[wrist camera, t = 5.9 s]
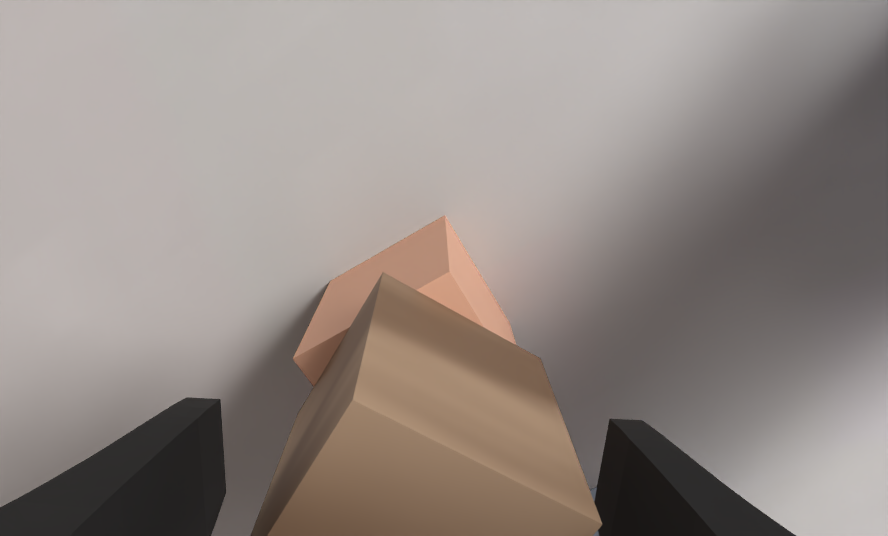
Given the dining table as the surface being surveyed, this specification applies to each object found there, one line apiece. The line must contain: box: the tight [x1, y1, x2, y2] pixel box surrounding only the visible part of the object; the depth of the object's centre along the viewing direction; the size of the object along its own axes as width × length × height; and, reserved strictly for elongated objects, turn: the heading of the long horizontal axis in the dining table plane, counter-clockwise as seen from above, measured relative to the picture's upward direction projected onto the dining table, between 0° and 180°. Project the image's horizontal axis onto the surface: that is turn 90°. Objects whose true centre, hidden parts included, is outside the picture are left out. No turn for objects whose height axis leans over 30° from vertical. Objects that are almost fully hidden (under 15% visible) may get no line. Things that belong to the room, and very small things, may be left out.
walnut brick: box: [251, 272, 602, 536], centre depth 11 cm, size 4×4×5 cm
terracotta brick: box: [293, 216, 516, 386], centre depth 16 cm, size 4×4×5 cm
